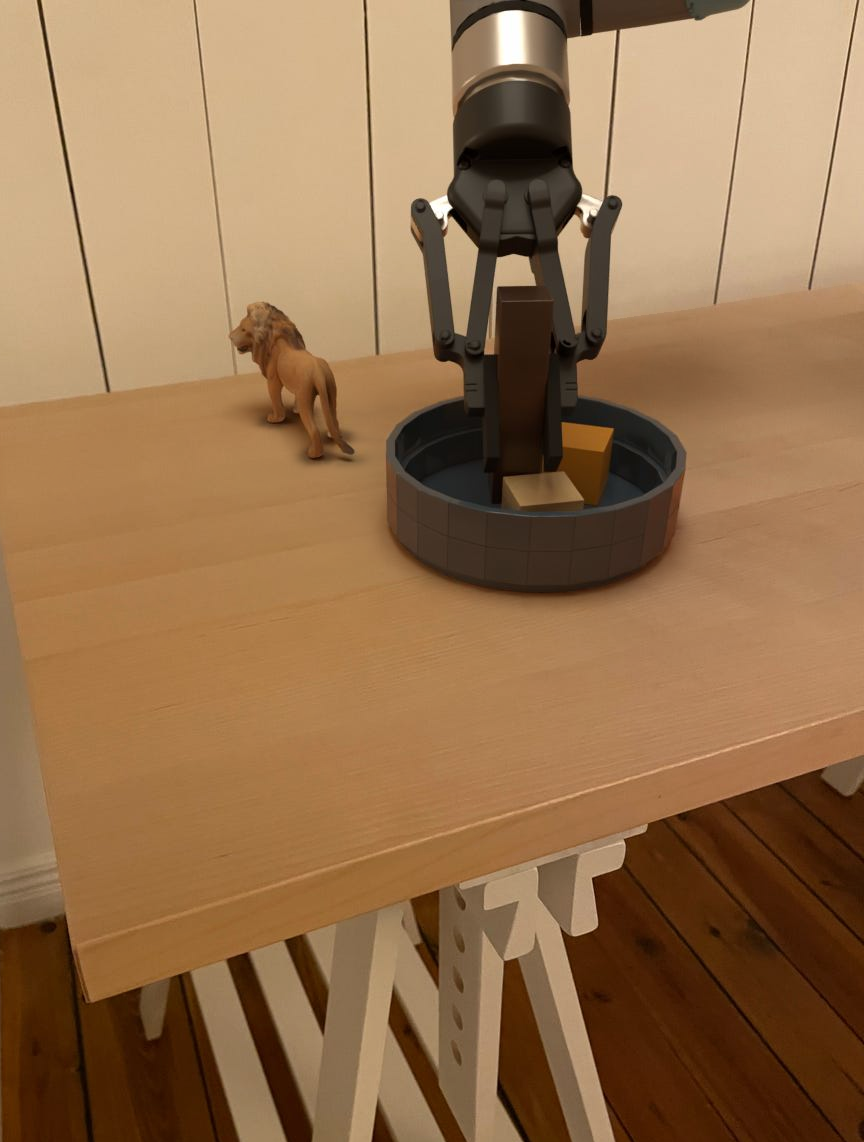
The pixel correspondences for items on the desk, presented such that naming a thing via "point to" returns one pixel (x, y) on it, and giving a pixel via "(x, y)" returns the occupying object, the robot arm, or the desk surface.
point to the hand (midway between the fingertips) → (522, 464)
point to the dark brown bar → (521, 379)
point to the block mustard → (586, 458)
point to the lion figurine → (290, 370)
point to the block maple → (541, 493)
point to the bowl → (520, 538)
